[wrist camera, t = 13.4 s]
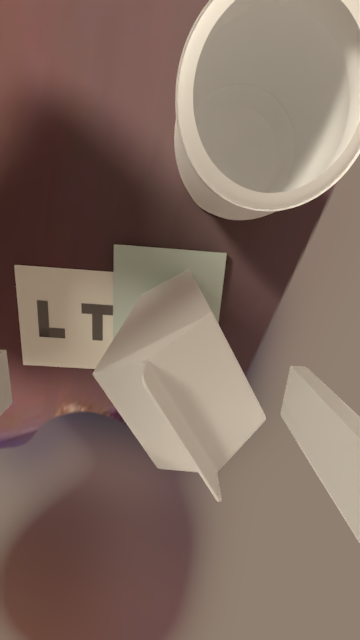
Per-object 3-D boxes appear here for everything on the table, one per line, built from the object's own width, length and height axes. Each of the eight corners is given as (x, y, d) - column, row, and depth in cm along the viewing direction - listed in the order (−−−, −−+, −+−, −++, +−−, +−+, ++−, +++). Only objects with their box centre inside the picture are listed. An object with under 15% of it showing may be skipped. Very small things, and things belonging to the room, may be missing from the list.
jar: (254, 238, 30) (330, 234, 15) (162, 210, 29) (151, 177, 14) (291, 130, 27) (428, 0, 12) (191, 95, 26) (213, -90, 11)
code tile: (27, 361, 34) (22, 365, 33) (19, 264, 31) (13, 264, 30) (123, 366, 34) (122, 370, 33) (125, 271, 31) (124, 272, 30)
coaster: (114, 347, 33) (112, 350, 32) (115, 244, 29) (113, 244, 28) (213, 353, 33) (214, 356, 32) (225, 252, 30) (226, 253, 29)
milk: (188, 268, 29) (229, 331, 8) (213, 315, 31) (301, 474, 10) (139, 294, 30) (60, 417, 9) (166, 340, 32) (152, 538, 10)
